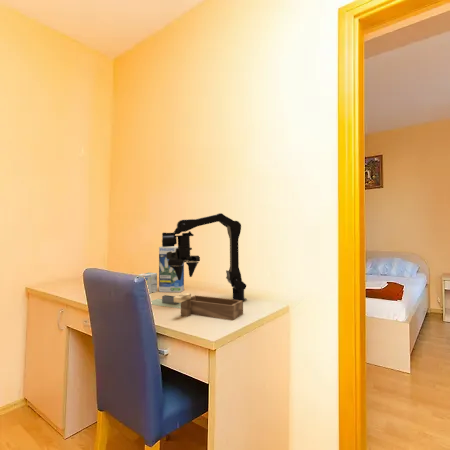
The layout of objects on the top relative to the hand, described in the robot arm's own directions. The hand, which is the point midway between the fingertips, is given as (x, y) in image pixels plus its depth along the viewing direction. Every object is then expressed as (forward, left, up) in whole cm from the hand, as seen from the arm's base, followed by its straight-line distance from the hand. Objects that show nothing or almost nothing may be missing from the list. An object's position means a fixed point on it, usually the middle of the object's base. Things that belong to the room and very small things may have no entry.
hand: (185, 278), depth 151 cm
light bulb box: (-12, -35, -13) cm, 39 cm away
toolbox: (+11, +20, -12) cm, 26 cm away
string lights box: (-22, -25, -13) cm, 36 cm away
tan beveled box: (+18, +11, -6) cm, 22 cm away
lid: (+2, -7, -13) cm, 15 cm away
